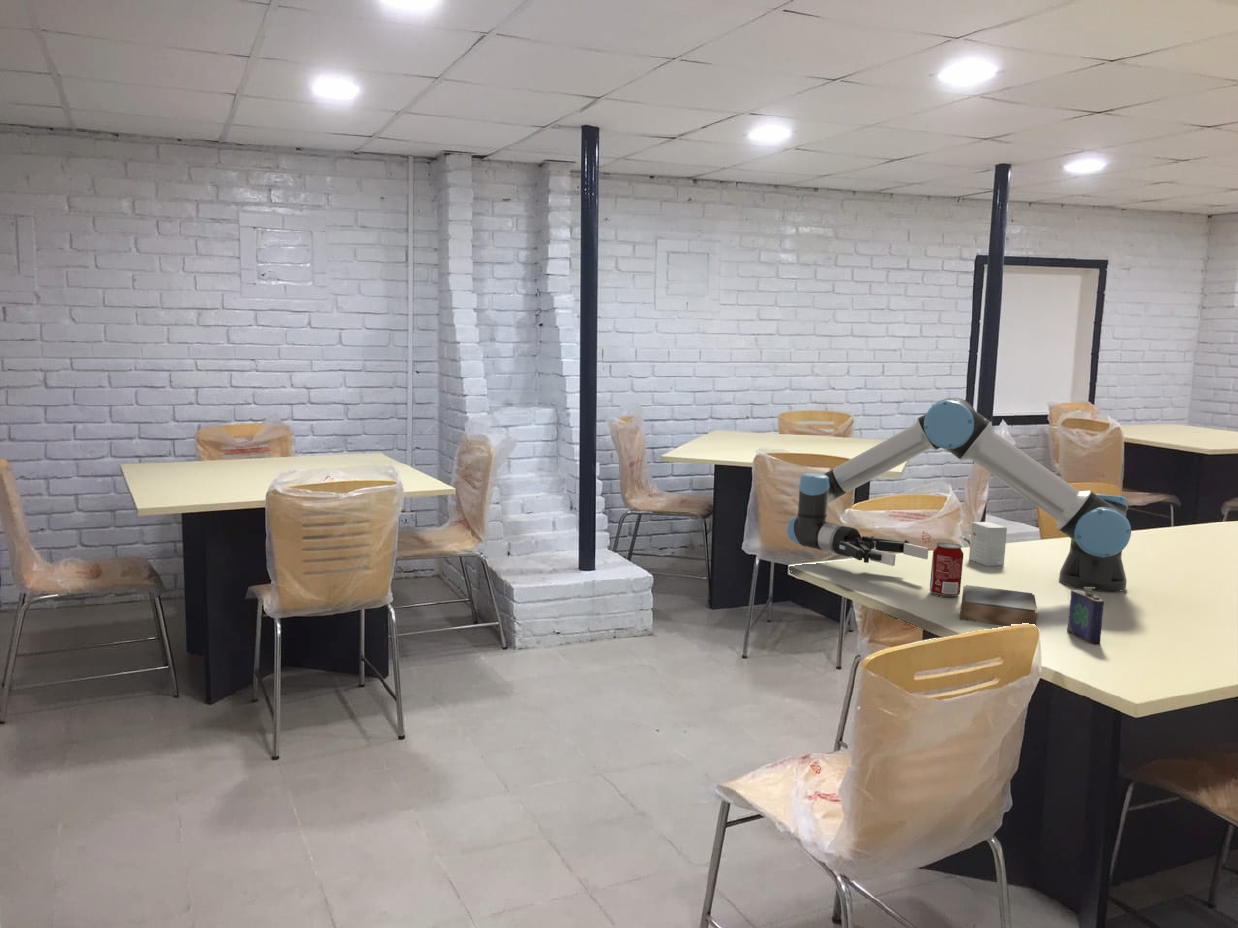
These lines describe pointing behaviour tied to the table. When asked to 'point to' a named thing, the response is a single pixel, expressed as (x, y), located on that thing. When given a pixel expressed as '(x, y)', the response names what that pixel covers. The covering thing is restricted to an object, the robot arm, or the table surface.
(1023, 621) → the riser
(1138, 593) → the table surface
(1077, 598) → the flask
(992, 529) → the small box
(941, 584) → the soda can
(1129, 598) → the table surface
